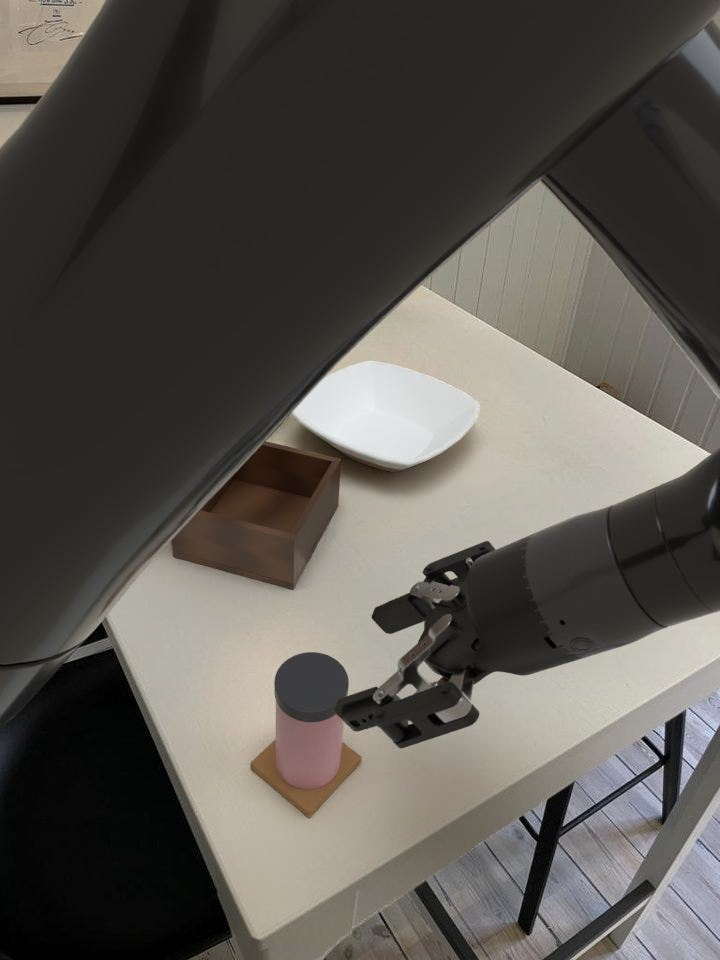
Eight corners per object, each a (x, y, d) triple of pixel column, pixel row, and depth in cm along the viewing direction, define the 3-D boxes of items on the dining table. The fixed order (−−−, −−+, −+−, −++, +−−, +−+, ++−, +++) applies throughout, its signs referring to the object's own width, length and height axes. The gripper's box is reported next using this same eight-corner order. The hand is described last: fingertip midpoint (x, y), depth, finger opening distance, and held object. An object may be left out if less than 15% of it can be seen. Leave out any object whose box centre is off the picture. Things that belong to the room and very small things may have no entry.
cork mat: (309, 818, 58) (309, 813, 57) (249, 768, 61) (249, 762, 60) (361, 762, 62) (362, 756, 61) (303, 717, 65) (303, 712, 64)
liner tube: (310, 804, 58) (314, 726, 52) (260, 762, 60) (258, 683, 54) (355, 757, 61) (363, 678, 55) (305, 719, 64) (309, 640, 58)
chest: (338, 505, 88) (341, 458, 84) (293, 589, 77) (294, 540, 73) (231, 479, 91) (229, 432, 87) (172, 557, 79) (167, 507, 75)
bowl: (364, 382, 112) (366, 350, 108) (493, 436, 102) (500, 402, 99) (267, 444, 97) (267, 410, 94) (408, 513, 88) (413, 477, 85)
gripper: (543, 474, 47) (358, 562, 57) (514, 637, 36) (289, 714, 45) (607, 556, 50) (418, 628, 59) (597, 734, 39) (367, 789, 48)
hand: (362, 666), depth 52 cm, fingers open, 8 cm apart
